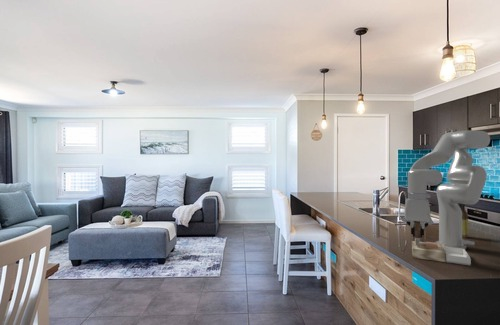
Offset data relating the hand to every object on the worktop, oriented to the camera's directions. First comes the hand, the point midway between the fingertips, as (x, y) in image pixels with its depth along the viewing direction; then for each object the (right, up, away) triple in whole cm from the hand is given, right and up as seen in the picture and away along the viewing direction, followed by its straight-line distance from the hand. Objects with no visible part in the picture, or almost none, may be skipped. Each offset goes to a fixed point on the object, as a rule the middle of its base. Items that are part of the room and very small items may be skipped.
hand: (417, 236), depth 129 cm
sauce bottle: (+42, -8, +29) cm, 52 cm away
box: (+13, -8, -7) cm, 16 cm away
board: (+3, -8, -2) cm, 9 cm away
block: (+5, -4, -3) cm, 7 cm away
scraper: (0, -3, 0) cm, 3 cm away
